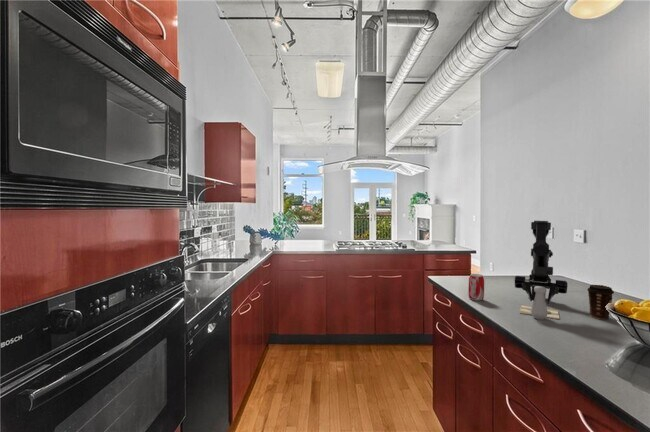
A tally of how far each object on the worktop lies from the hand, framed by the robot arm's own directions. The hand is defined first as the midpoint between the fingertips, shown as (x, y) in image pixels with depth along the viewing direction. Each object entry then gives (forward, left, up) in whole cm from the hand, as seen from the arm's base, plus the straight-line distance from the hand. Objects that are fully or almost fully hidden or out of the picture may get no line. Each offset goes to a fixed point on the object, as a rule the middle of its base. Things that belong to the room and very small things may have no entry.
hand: (539, 301), depth 143 cm
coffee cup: (-25, +10, -7) cm, 28 cm away
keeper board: (-9, -5, -7) cm, 13 cm away
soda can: (-2, -32, -7) cm, 33 cm away
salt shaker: (-1, -1, -7) cm, 7 cm away
